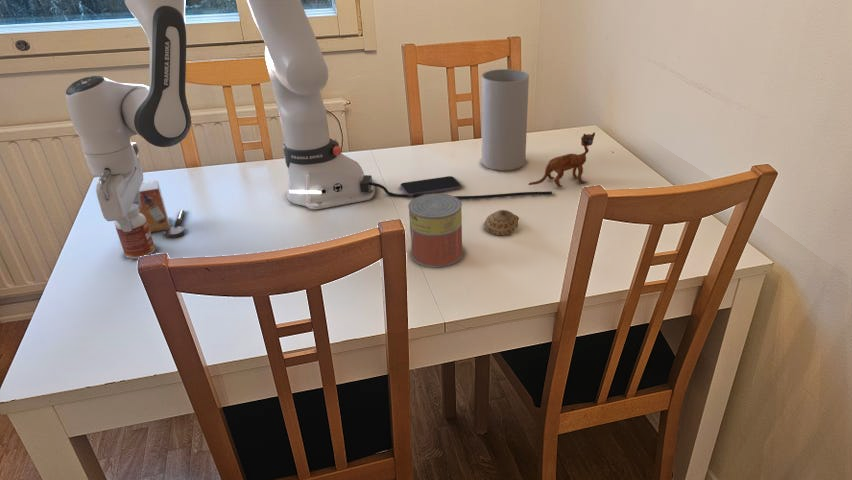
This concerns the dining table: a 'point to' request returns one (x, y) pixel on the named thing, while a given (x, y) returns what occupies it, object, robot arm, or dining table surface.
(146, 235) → the pill bottle
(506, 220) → the seashell
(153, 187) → the small box
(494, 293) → the dining table surface
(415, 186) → the smartphone
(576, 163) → the cat figurine
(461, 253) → the canned food
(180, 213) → the long handled flat disc
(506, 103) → the cylinder vase
